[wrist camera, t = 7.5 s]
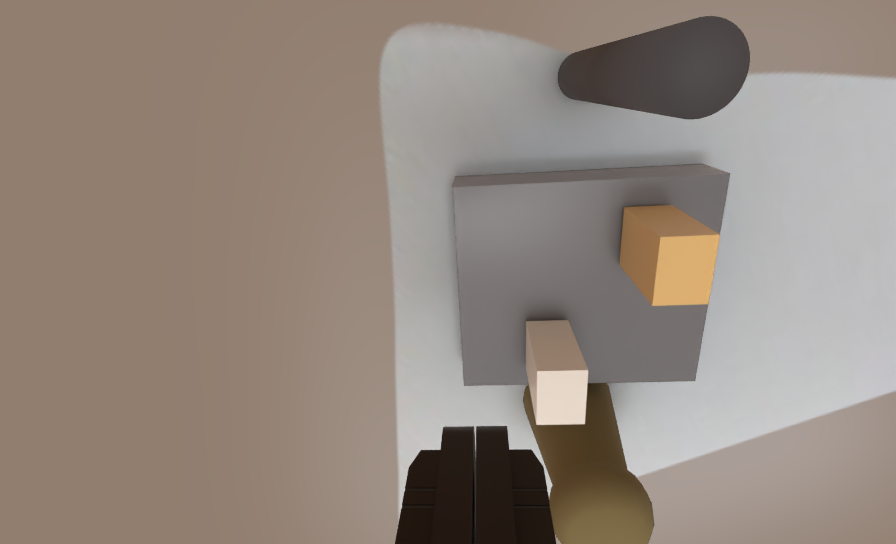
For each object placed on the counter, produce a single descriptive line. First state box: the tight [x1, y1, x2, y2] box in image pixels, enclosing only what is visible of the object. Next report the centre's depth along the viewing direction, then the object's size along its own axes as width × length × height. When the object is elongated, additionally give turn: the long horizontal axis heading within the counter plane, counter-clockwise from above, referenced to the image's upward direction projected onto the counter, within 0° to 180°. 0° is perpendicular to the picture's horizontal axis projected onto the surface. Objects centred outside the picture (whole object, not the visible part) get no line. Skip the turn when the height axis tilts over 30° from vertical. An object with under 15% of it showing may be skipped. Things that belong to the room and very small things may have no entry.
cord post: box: [558, 16, 750, 119], centre depth 18 cm, size 2×2×14 cm
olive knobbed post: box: [523, 383, 654, 544], centre depth 28 cm, size 6×6×11 cm
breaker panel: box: [453, 164, 730, 386], centre depth 28 cm, size 14×12×3 cm
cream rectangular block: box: [526, 320, 588, 425], centre depth 25 cm, size 2×3×5 cm
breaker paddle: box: [619, 205, 720, 306], centre depth 22 cm, size 2×3×5 cm
